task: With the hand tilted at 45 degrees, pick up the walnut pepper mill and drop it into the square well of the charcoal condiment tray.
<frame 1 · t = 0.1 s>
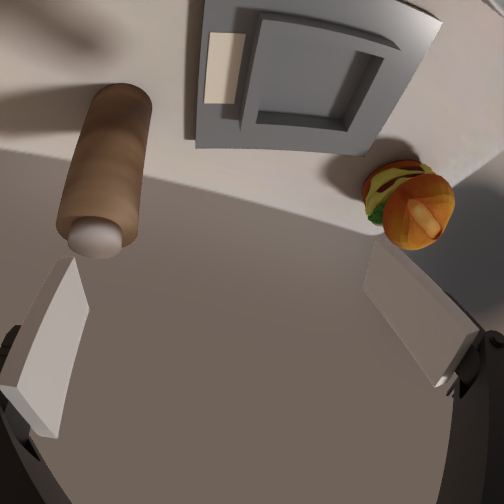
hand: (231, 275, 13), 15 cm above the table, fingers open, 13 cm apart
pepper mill: (121, 108, 21), on the table
cheeseburger: (395, 176, 34), on the table
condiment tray: (309, 70, 20), on the table
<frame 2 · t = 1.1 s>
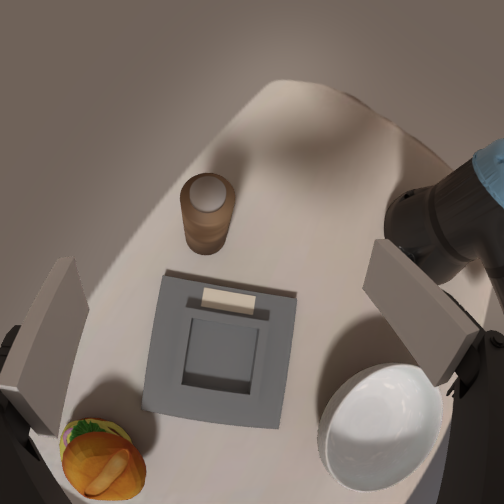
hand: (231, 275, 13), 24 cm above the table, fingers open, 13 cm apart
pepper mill: (205, 235, 38), on the table
cheeseburger: (106, 448, 29), on the table
cereal bowl: (363, 420, 35), on the table
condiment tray: (219, 355, 35), on the table
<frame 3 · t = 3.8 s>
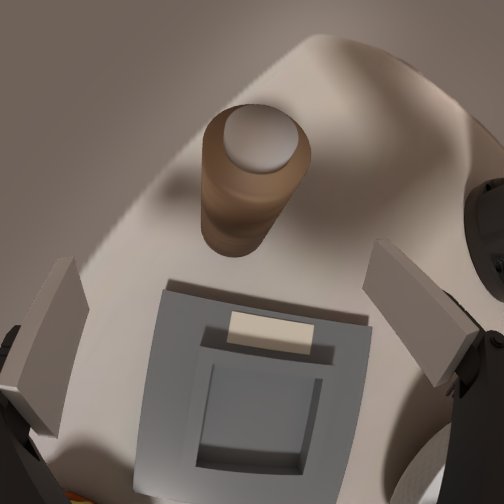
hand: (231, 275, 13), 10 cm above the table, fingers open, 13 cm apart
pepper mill: (233, 225, 24), on the table
cereal bowl: (432, 476, 21), on the table
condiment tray: (253, 417, 20), on the table
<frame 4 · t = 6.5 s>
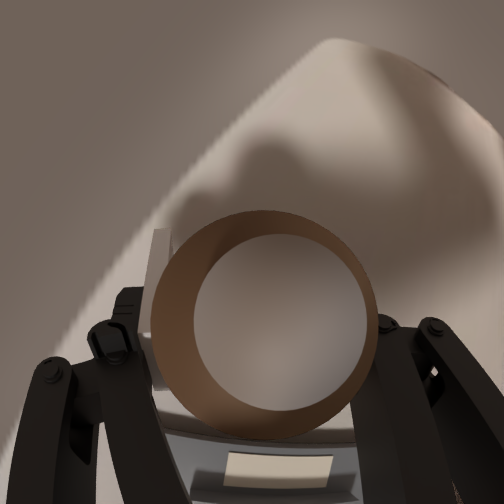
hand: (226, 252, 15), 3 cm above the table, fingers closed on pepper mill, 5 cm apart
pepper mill: (227, 334, 17), on the table, touching gripper
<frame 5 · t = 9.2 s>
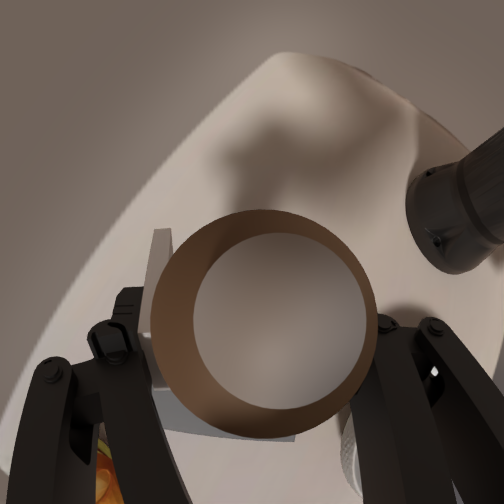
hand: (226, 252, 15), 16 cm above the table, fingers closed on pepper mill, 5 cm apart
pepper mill: (227, 333, 17), point 13 cm above the table, touching gripper
cheeseburger: (88, 464, 23), on the table
cereal bowl: (388, 426, 29), on the table
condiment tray: (223, 357, 29), on the table
when the fingers open (6 cm above the table, at t = 12.1 s): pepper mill drops 1 cm, resting on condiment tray.
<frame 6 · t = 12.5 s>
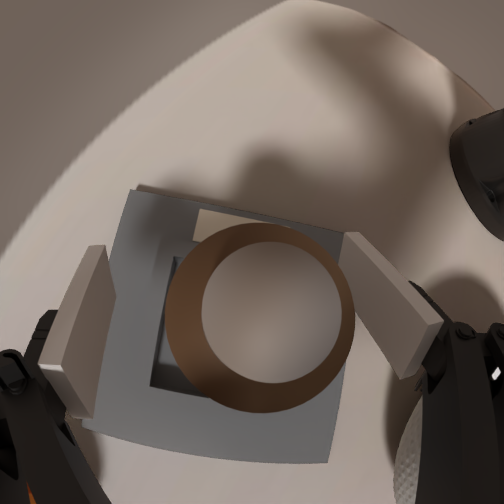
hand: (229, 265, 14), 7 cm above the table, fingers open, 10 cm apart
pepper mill: (226, 335, 18), point 1 cm above the table, touching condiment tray
cereal bowl: (443, 432, 19), on the table
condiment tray: (223, 334, 19), on the table
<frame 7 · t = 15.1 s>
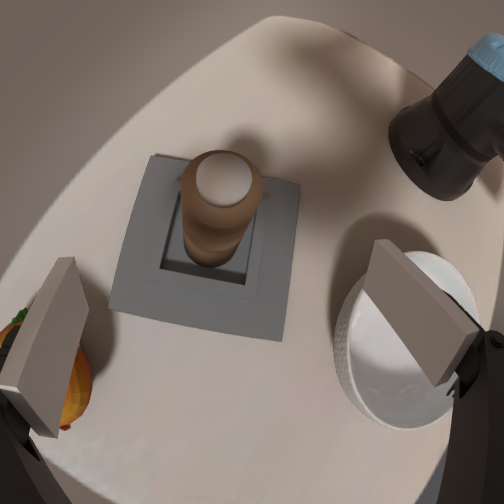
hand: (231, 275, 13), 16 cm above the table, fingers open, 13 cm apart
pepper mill: (210, 241, 29), point 1 cm above the table, touching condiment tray
cheeseburger: (54, 366, 24), on the table
cereal bowl: (385, 343, 30), on the table
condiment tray: (209, 244, 30), on the table
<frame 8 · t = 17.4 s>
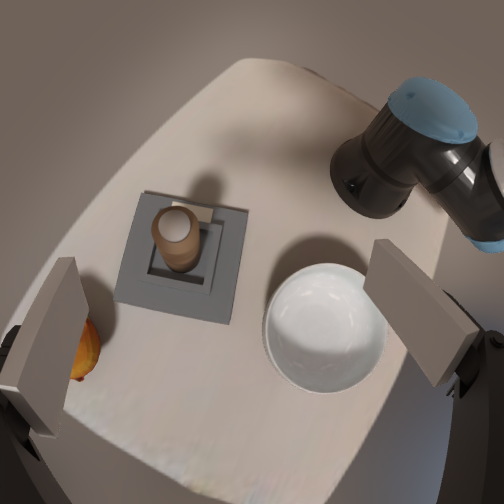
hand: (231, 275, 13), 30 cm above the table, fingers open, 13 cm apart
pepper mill: (181, 255, 42), point 1 cm above the table, touching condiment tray
cheeseburger: (72, 340, 37), on the table
cereal bowl: (312, 330, 43), on the table
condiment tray: (181, 256, 43), on the table
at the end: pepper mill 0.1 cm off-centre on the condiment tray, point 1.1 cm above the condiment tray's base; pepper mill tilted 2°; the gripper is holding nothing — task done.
